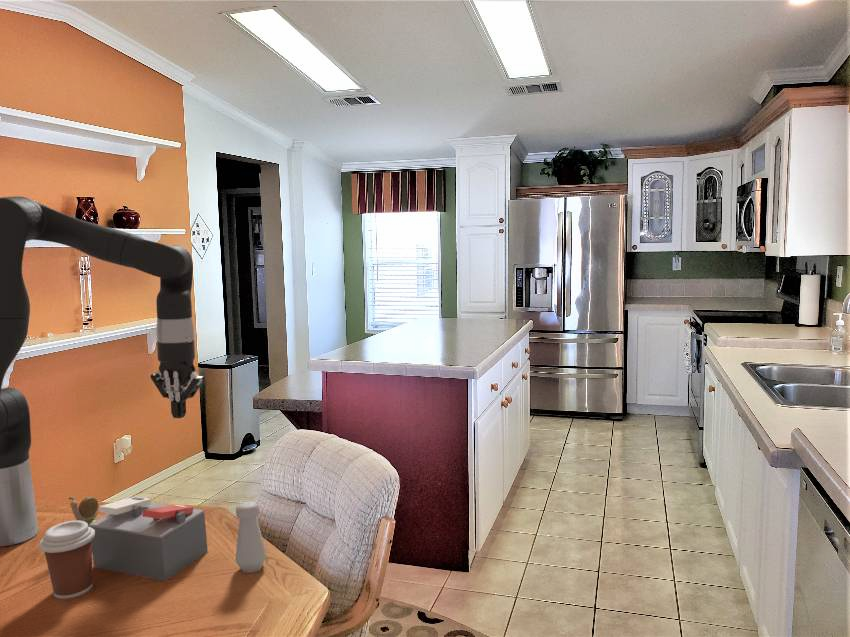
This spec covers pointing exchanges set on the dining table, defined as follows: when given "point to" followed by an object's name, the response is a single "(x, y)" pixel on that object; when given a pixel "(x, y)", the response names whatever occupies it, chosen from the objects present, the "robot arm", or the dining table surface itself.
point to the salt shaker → (249, 539)
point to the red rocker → (166, 511)
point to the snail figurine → (85, 509)
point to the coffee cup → (69, 558)
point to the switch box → (148, 542)
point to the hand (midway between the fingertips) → (179, 417)
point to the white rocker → (124, 505)
